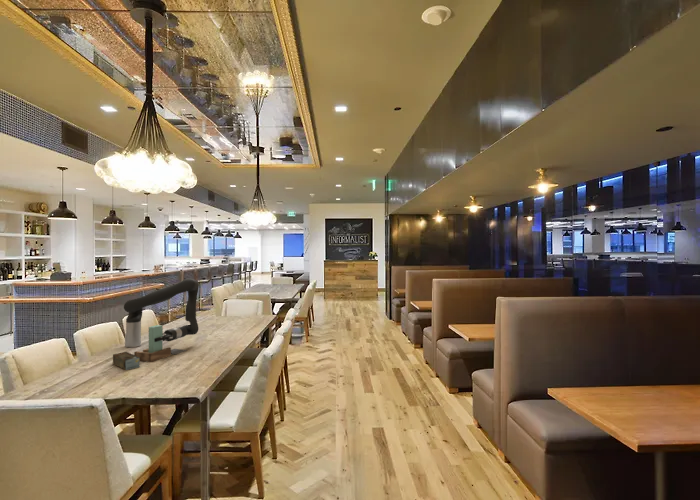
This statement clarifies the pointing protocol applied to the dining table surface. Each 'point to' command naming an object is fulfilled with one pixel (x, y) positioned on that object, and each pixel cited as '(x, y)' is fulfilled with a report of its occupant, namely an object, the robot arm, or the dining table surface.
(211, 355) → the dining table surface
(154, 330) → the tall teal pillar
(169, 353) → the frame
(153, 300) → the robot arm
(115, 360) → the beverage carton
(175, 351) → the pad
